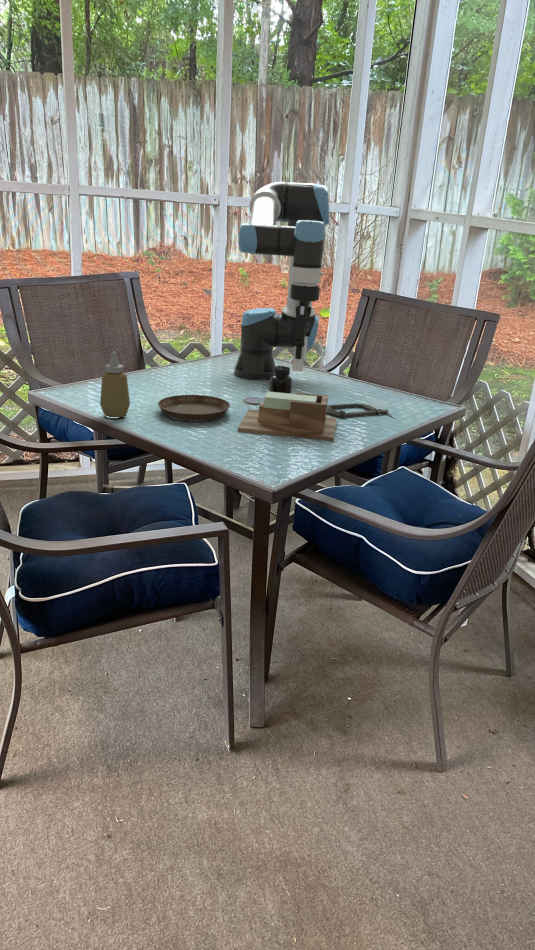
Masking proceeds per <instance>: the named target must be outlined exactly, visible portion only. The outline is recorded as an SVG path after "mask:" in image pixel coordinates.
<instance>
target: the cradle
mask: <svg viewBox="0 0 535 950" xmlns="http://www.w3.org/2000/svg"><path fill="white" fill-rule="evenodd" d="M293 394H299V395H309V396H317V402H316V403H312V402H302V401H291V409H290V410H283V409H273V408H264V401H262V402H260V404H259V405H258V409H250V408H249V409H248V410H247V411H246V413H245V415H244V417H243V418H242V420H241V422H240V424H239V425H238V427H237V432H242V433H253V434H264V435H271V436H281V437H290V438H291V437H292V438H300V439H301V438H302V439H303V438H304V439H309V440H310V439H312V440H322V441H331V442H334V441H335V436H336V435H335V433H336V428H337V427H336V426H337V417H334V416H332V417H331V416H327V413H326V412H327V405H328V399H329V395H327V394H316V393H308V392H306V393H305V392H296V391H294V393H293Z"/></svg>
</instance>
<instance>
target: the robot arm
mask: <svg viewBox="0 0 535 950" xmlns="http://www.w3.org/2000/svg"><path fill="white" fill-rule="evenodd" d="M329 202H330V201H329V189H328V187H327V186H326V185H324V184H316V183H307V182H305V183H304V182H285V181H275V182H272V183H269V184H266V185H264V186H262V187H260V188H259V189H257V191H255V192H254V194H253V195H252V197H251V199H250V202H249V212H250V217H249V222H248V223H241V224H240V225H239V229H238V230H239V232H238V250H239V252H240V253H243V254H250V255H263V256H264V255H267V256H268V255H269V256H281V257H282V256H284V257H289V269H288V282H287V284H288V285H287V297H286V299H287V300H286V304H285V305H284V306H283V307H282V309H281V313H277V311H276V309H275V308H272V307H271V308H270V307H260V308H258V307H257V308H253V309H248V310H245V311H244V312H243V313H242V315H241V323H240V326H241V329H240V331H241V332H240V347H239V349H240V351H239V355H238V357H237V360H236V363H235V366H234V372H233V373H234V376H236V377H239V378H242V379H246V380H255V381H257V380H259V381H263V380H270V378H271V376H273V375H274V367H275V366H276V362H275V358H274V348H280V349H281V348H282V349H293V354H292V368H291V369H292V370H291V371H294V372H296V371H297V372H303V371H304V361H306V359H307V350H309V349H312V348H313V346H314V345H315V342H316V338H317V335H318V330H319V325H320V324H319V323H320V317H319V316H318V315H317V314H316V309H314V307H313V306H312V305H313V302H317V301H319V299H320V289H321V287H320V286H319V284H320V283H321V279H322V278H321V276H324V272H323V271H322V267H323V264H322V262H323V253H324V244H325V238H326V234H325V231H326V226H328V225H329V224H330V205H329V204H330V203H329ZM277 222H279V223H280V222H281V223H287V226H286V225H277Z"/></svg>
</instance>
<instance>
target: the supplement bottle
mask: <svg viewBox="0 0 535 950" xmlns="http://www.w3.org/2000/svg"><path fill="white" fill-rule="evenodd" d="M290 375H291V368H290V367H288V366H285V365H275V367H274V375H273V376H271V378H270V379H269V388H268V389H269V390H268V392H278V393H288V394H292V389H293V379H292V377H291V376H290Z"/></svg>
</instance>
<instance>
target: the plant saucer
mask: <svg viewBox="0 0 535 950" xmlns="http://www.w3.org/2000/svg"><path fill="white" fill-rule="evenodd" d="M180 405H181V406H180ZM157 406H158V408H159V409H160V410H161V411H162V412H163V413H164V415H165V416H167V417H168V418H170V417H171V419H173V418H174V420H176V419H177V421H181V420H182V421H183V422H189V421H192V422H193V423H199V422H201V423H203V422H211V421H214V420H217V419H220V418H221V417H222V416H223V415H225V414H226V413H227V412H228V410H229V409H230V407H231V404H230V402H228V400H225V399H224V398H220V397H216V396H211V395H204V394H180V395H179V394H178V395H172V396H168V397H163V398H162V399H160V400H159V401H158V402H157ZM210 420H211V421H210ZM202 421H203V422H202Z"/></svg>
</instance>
